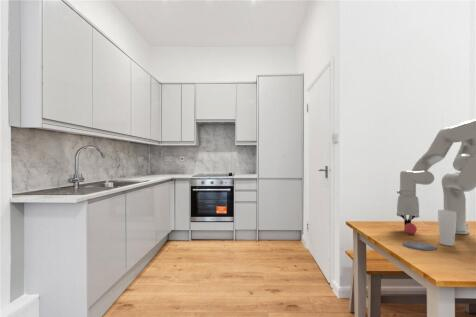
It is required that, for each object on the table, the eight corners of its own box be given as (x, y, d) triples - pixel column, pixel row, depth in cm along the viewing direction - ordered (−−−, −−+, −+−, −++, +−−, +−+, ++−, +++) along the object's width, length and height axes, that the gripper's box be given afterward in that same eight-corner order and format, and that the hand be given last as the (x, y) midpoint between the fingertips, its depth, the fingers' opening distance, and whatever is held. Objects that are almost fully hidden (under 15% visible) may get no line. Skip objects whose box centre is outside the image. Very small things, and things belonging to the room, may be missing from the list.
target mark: (413, 241, 138) (413, 240, 138) (443, 248, 126) (443, 247, 126) (395, 244, 132) (395, 243, 132) (425, 252, 120) (425, 251, 120)
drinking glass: (459, 247, 128) (459, 212, 129) (442, 246, 130) (442, 211, 130) (451, 243, 135) (451, 210, 135) (435, 242, 136) (435, 209, 137)
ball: (408, 232, 156) (408, 221, 156) (419, 234, 151) (418, 223, 151) (401, 233, 153) (401, 222, 154) (412, 235, 149) (412, 224, 149)
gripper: (392, 193, 160) (392, 227, 160) (425, 195, 154) (425, 230, 154) (391, 192, 167) (391, 225, 167) (422, 193, 161) (422, 227, 161)
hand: (407, 227), depth 161 cm, fingers closed
